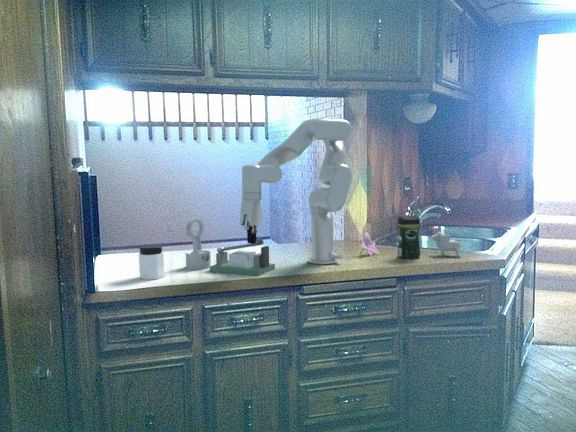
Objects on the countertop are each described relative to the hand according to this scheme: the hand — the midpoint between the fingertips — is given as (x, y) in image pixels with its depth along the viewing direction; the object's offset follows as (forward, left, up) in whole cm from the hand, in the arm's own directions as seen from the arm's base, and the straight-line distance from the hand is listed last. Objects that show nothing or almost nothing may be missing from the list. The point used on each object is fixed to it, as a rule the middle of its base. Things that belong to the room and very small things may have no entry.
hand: (251, 242), depth 212 cm
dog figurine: (-66, -61, -12) cm, 90 cm away
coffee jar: (-51, -51, -12) cm, 73 cm away
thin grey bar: (+5, -1, -3) cm, 6 cm away
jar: (+31, +23, -12) cm, 40 cm away
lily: (-33, -51, -12) cm, 61 cm away
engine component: (+25, +1, -12) cm, 27 cm away
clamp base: (+5, -1, -11) cm, 12 cm away
